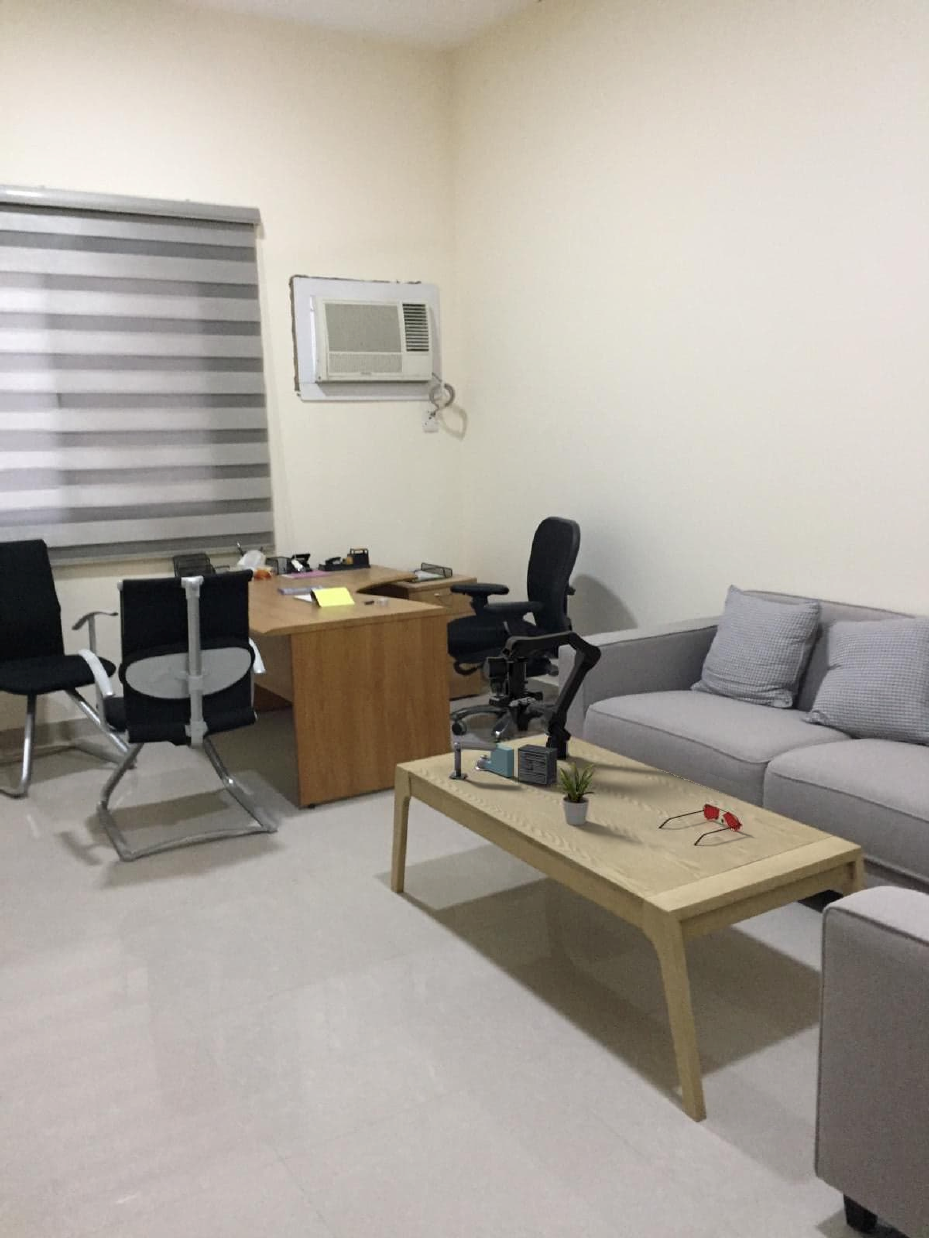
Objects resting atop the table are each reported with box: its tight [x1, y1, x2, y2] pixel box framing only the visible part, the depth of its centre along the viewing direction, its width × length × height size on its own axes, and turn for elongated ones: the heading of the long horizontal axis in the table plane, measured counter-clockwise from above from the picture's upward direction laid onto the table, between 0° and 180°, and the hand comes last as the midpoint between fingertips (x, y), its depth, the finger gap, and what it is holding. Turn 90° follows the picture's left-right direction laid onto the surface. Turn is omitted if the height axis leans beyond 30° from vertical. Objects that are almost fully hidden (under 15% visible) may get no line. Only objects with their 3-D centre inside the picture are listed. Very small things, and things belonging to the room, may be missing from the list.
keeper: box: [448, 740, 499, 780], centre depth 305 cm, size 14×5×11 cm, turn 74°
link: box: [476, 742, 515, 778], centre depth 311 cm, size 15×5×8 cm, turn 37°
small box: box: [517, 743, 558, 788], centre depth 301 cm, size 11×6×10 cm, turn 58°
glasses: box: [658, 803, 743, 846], centre depth 261 cm, size 14×16×5 cm
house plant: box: [554, 761, 604, 826], centre depth 267 cm, size 14×14×16 cm
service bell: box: [473, 754, 488, 771], centre depth 316 cm, size 7×7×4 cm
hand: (516, 724), depth 321 cm, fingers closed
